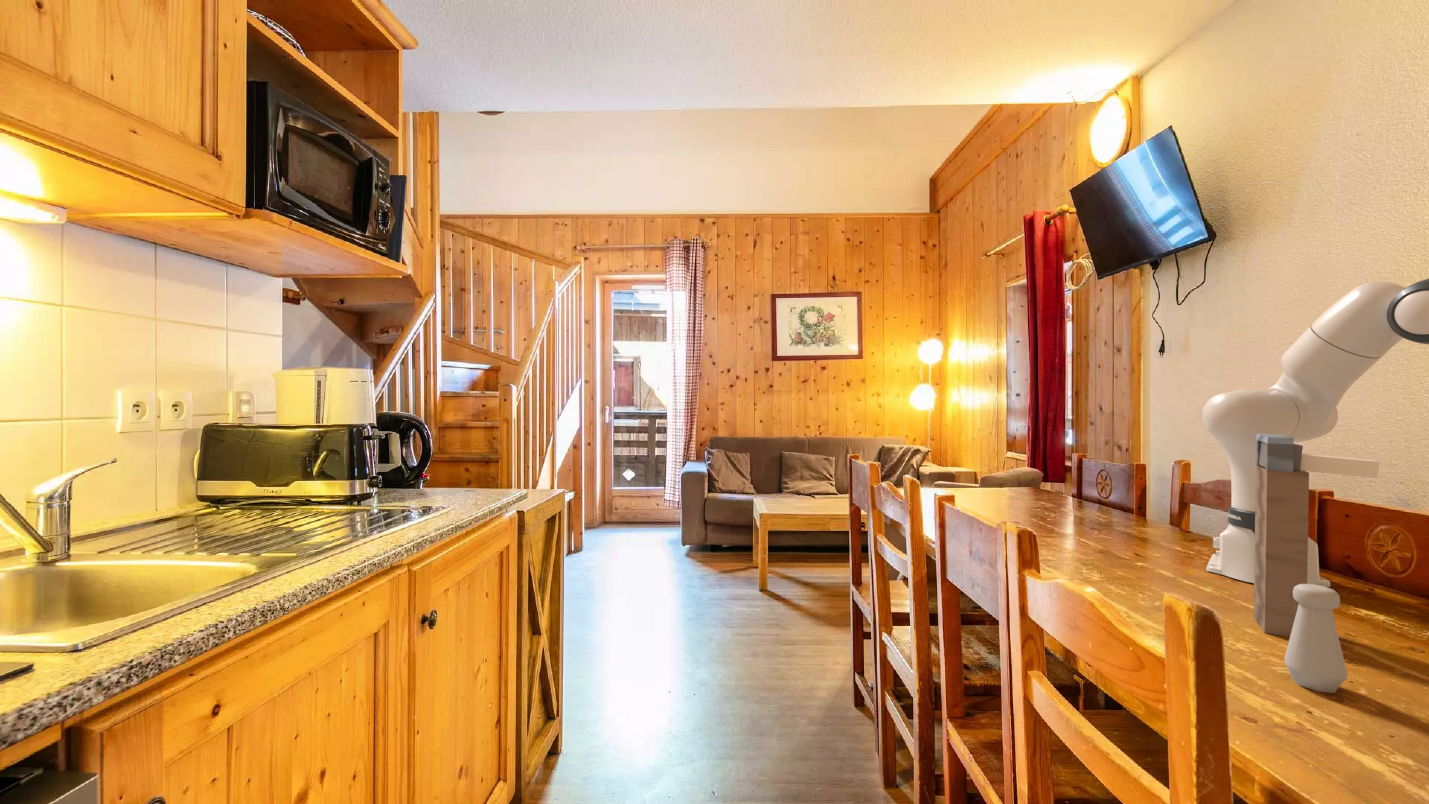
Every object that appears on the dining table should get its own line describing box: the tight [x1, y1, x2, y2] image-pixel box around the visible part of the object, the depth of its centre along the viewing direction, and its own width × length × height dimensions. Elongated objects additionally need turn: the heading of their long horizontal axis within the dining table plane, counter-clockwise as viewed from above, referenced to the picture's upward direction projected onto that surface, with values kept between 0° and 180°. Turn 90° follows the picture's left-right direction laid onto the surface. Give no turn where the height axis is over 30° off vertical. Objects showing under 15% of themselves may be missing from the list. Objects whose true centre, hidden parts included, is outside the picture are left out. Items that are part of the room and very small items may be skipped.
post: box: [1253, 434, 1310, 638], centre depth 96 cm, size 8×5×31 cm, turn 147°
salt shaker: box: [1283, 584, 1348, 694], centre depth 77 cm, size 6×6×13 cm
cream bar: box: [1259, 442, 1380, 479], centre depth 94 cm, size 5×13×4 cm, turn 57°
